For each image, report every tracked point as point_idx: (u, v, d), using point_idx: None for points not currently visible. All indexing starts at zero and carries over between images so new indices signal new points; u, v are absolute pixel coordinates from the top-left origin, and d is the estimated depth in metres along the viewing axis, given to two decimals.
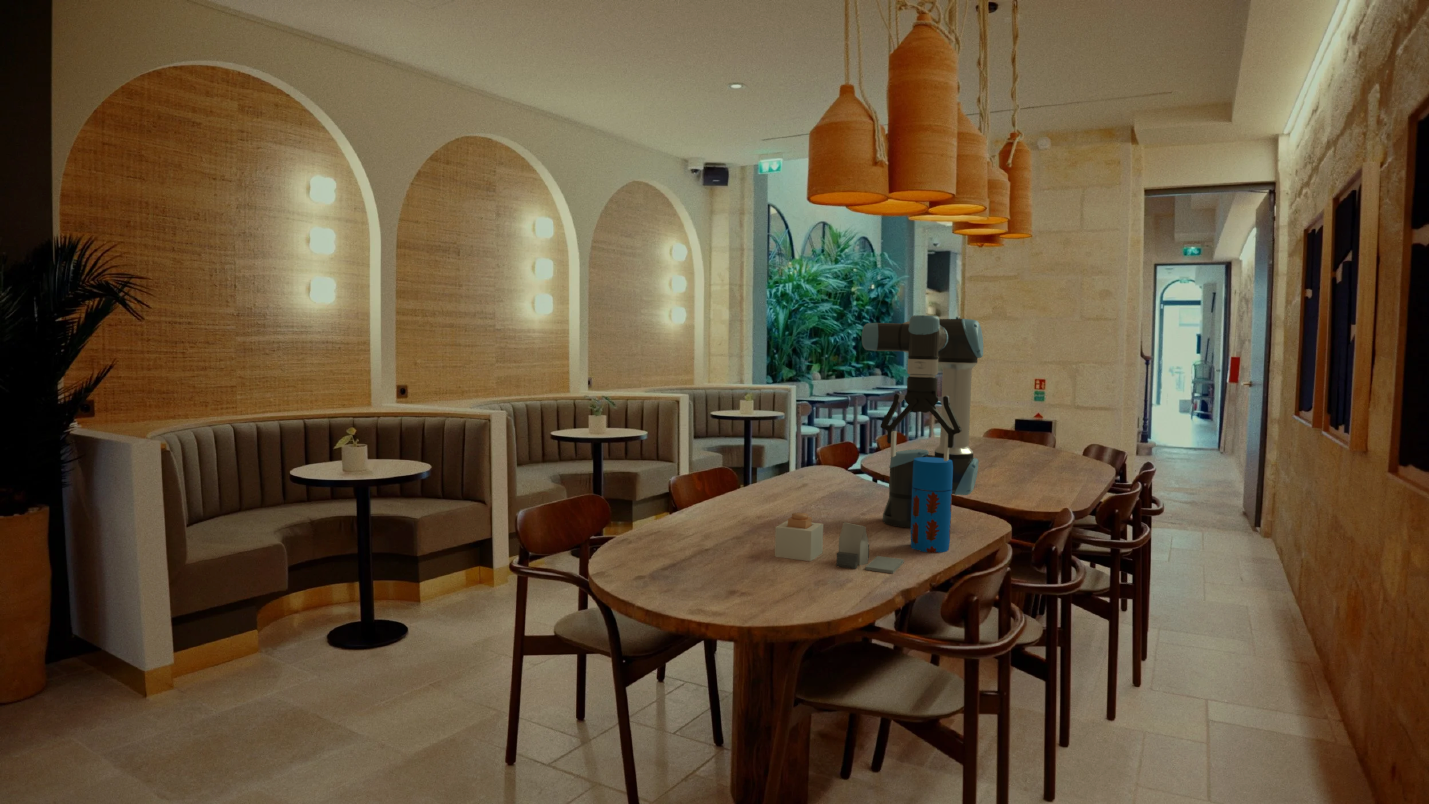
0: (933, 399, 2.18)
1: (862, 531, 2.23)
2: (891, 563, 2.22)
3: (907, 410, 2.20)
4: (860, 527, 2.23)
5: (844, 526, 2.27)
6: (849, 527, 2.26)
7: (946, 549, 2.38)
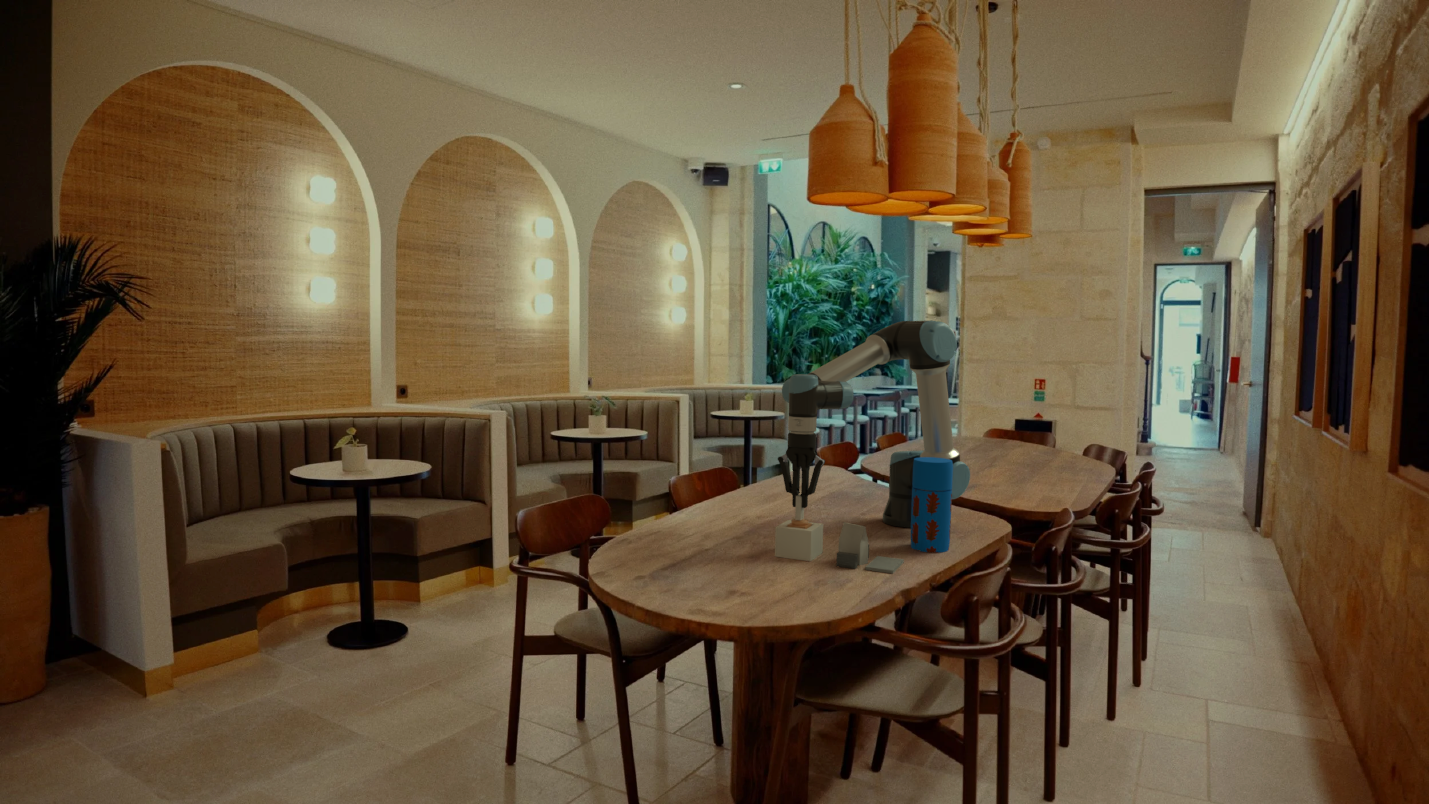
0: (811, 455, 2.28)
1: (862, 531, 2.23)
2: (891, 563, 2.22)
3: (794, 467, 2.29)
4: (860, 527, 2.23)
5: (844, 526, 2.27)
6: (849, 527, 2.26)
7: (946, 549, 2.38)
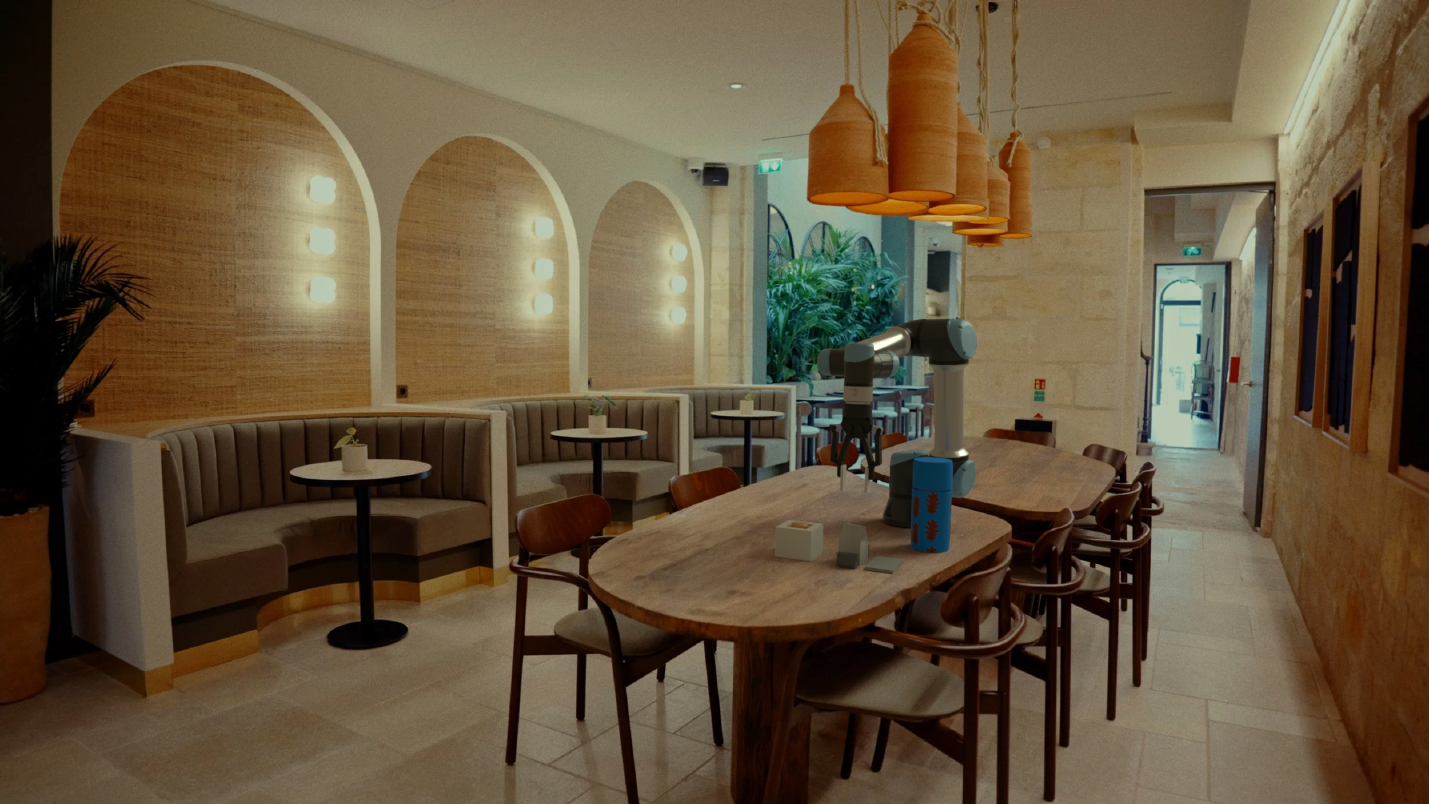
0: (867, 426, 2.21)
1: (862, 531, 2.23)
2: (891, 563, 2.22)
3: (847, 438, 2.23)
4: (860, 527, 2.23)
5: (844, 526, 2.27)
6: (849, 527, 2.26)
7: (946, 549, 2.38)
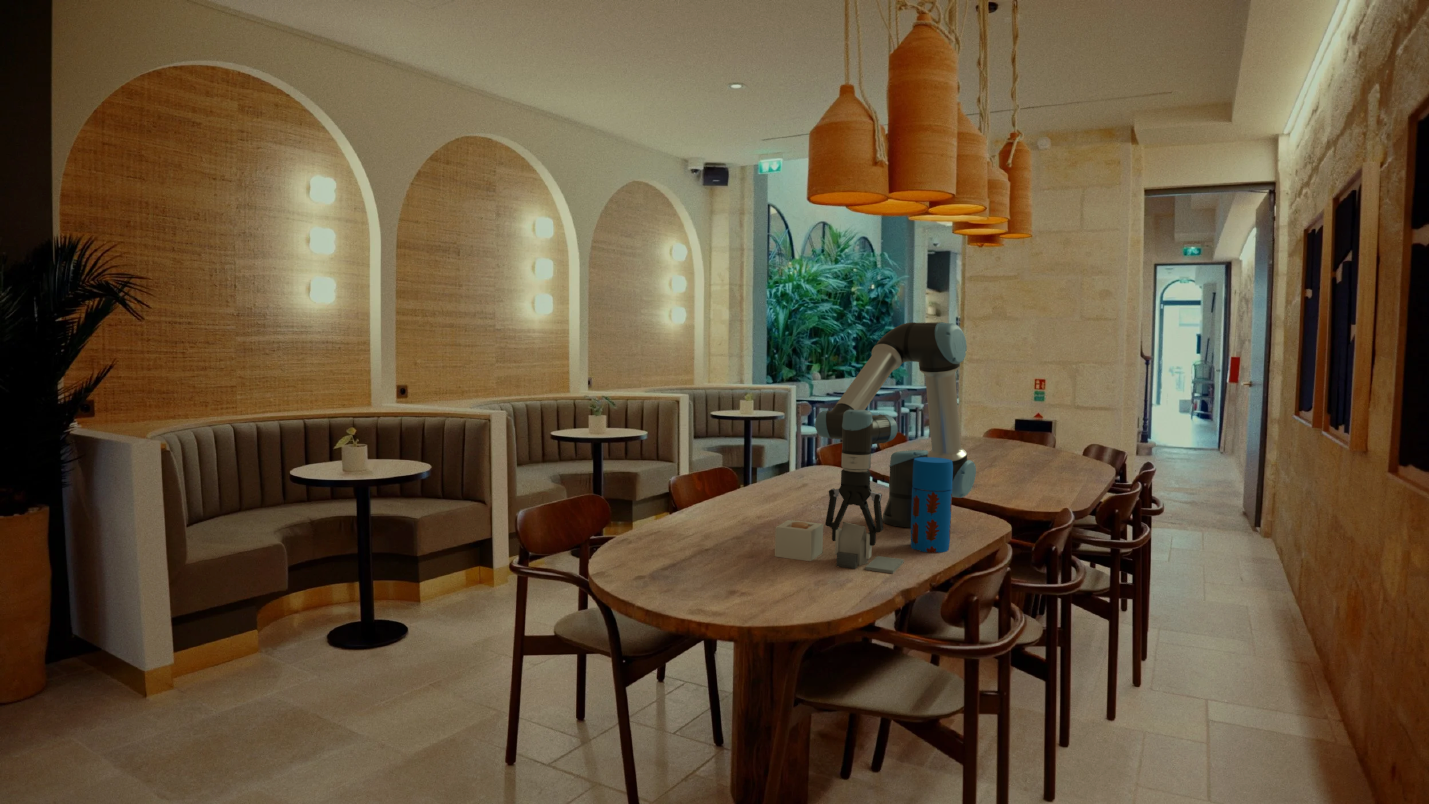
0: (865, 493, 2.22)
1: (862, 531, 2.23)
2: (891, 563, 2.22)
3: (844, 504, 2.24)
4: (860, 527, 2.23)
5: (844, 526, 2.27)
6: (849, 527, 2.26)
7: (946, 549, 2.38)
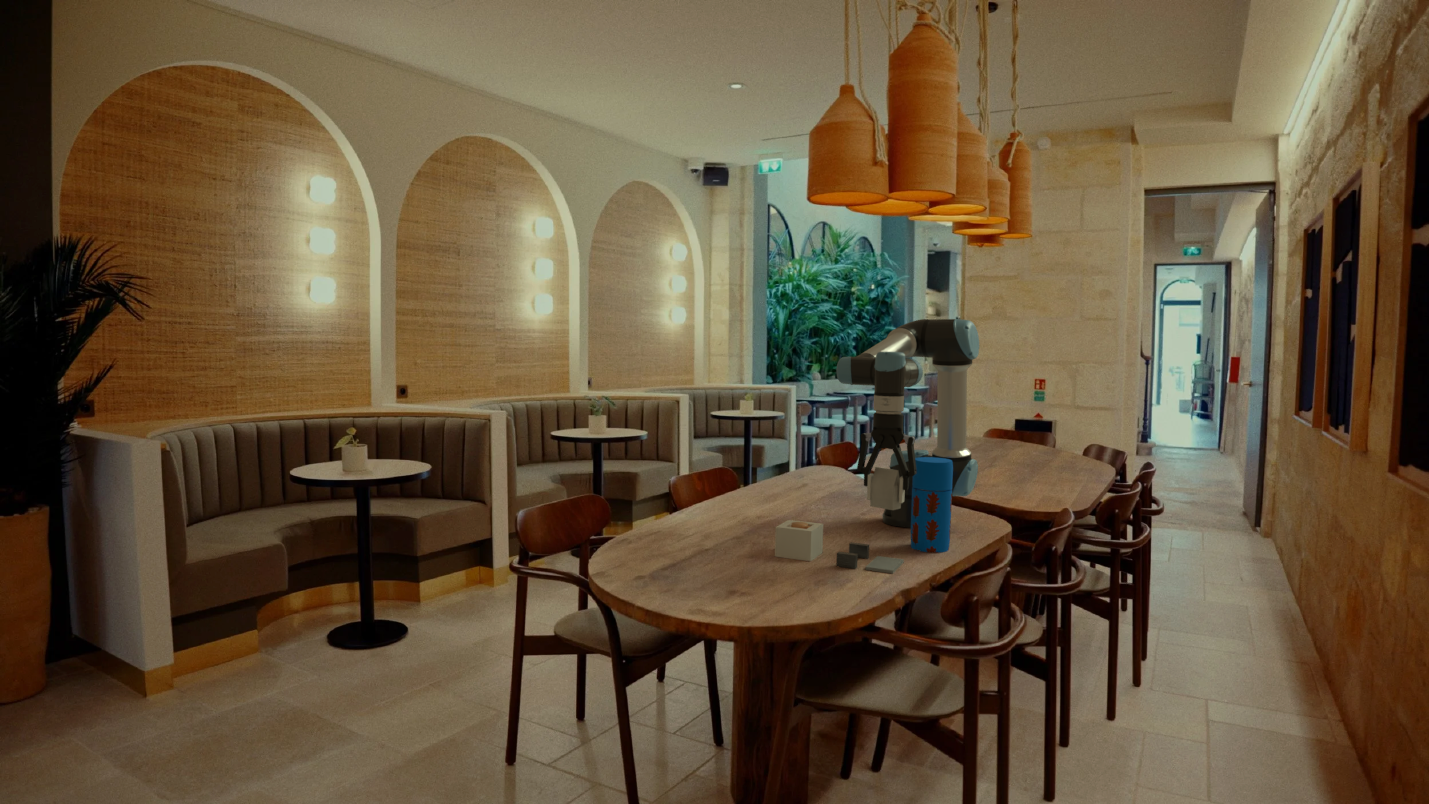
0: (898, 436, 2.17)
1: (895, 475, 2.18)
2: (891, 563, 2.22)
3: (876, 448, 2.19)
4: (893, 471, 2.19)
5: (876, 471, 2.22)
6: (881, 471, 2.21)
7: (946, 549, 2.38)
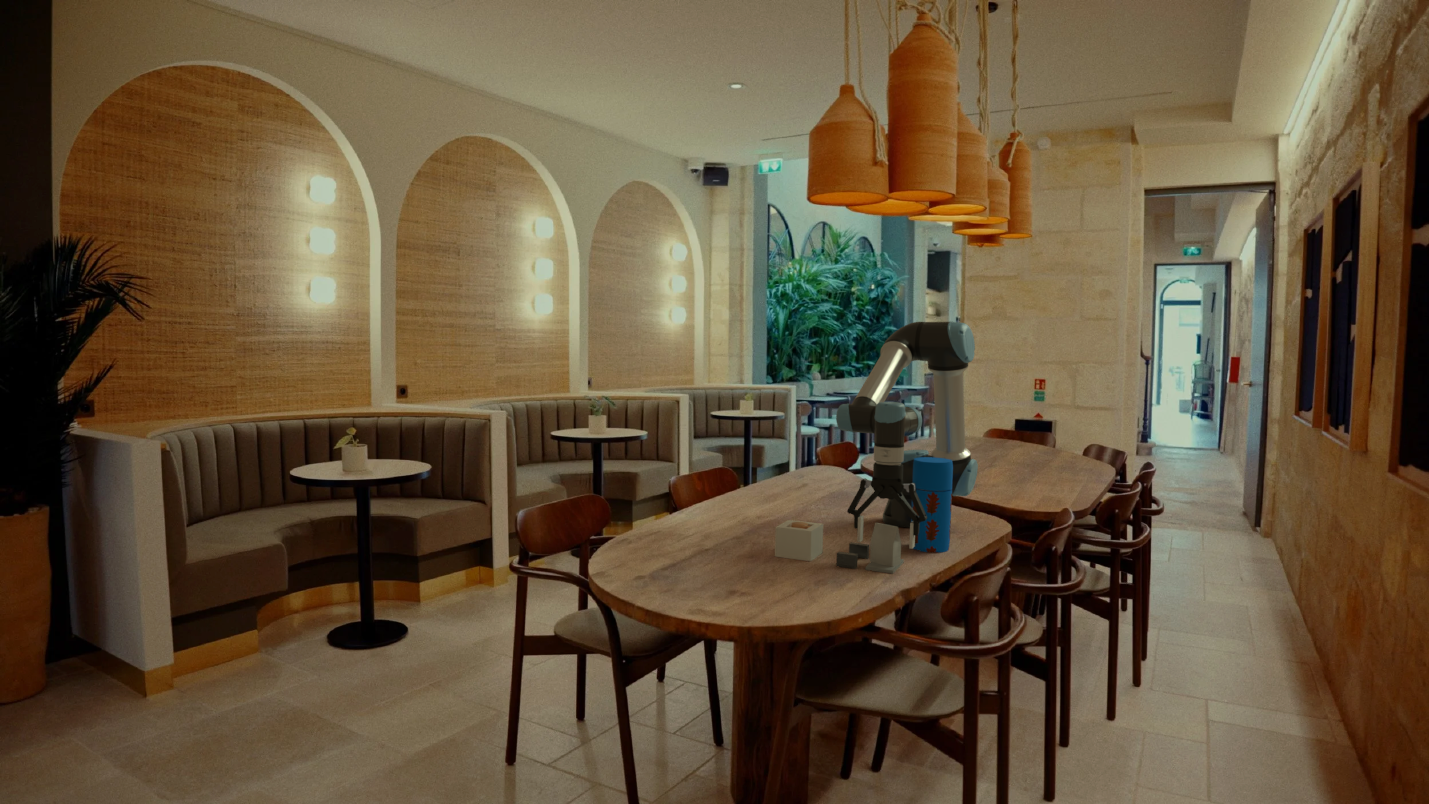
0: (898, 487, 2.18)
1: (895, 531, 2.19)
2: None
3: (873, 496, 2.21)
4: (893, 527, 2.20)
5: (876, 526, 2.23)
6: (881, 527, 2.22)
7: (946, 549, 2.38)
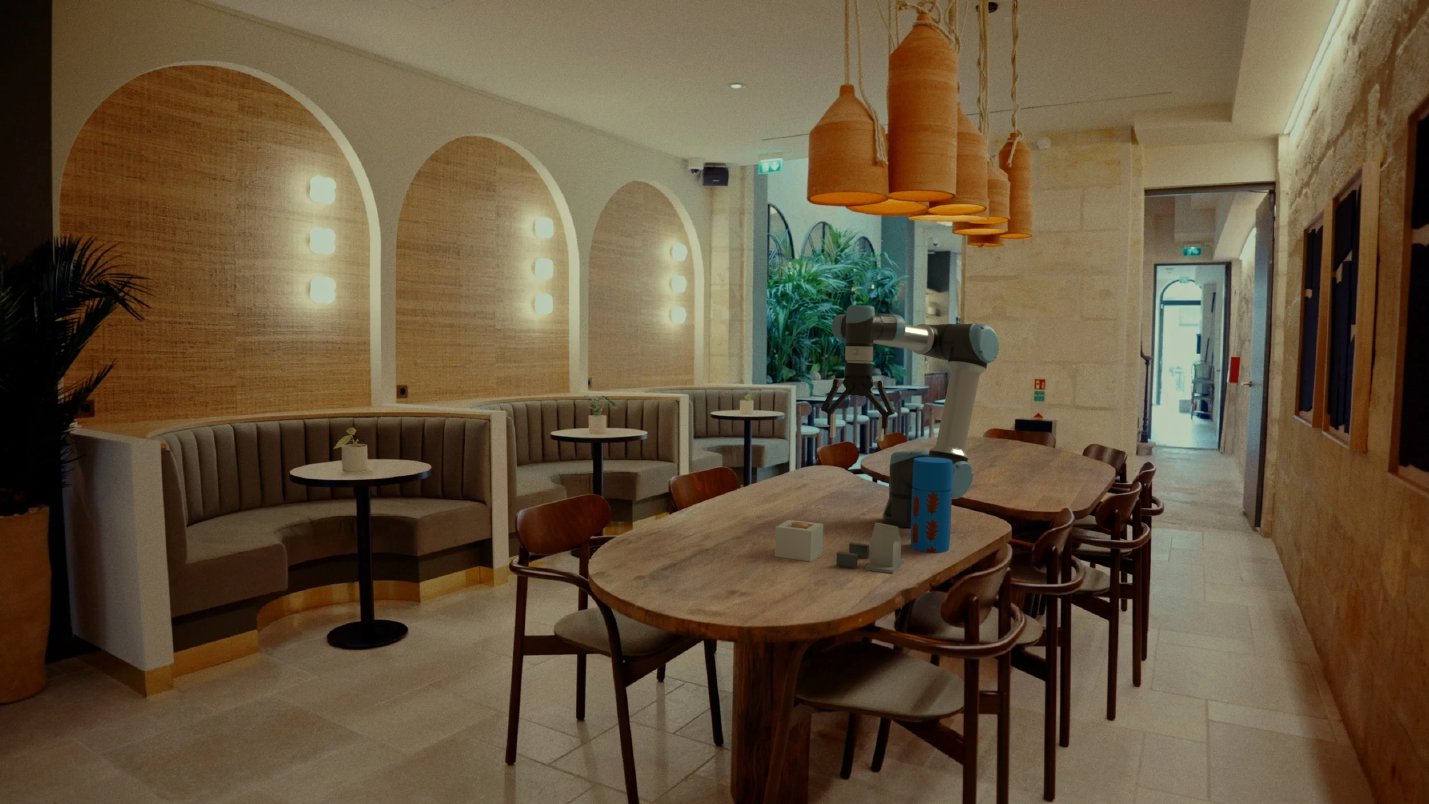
0: (868, 384, 2.34)
1: (895, 531, 2.19)
2: None
3: (845, 393, 2.36)
4: (893, 527, 2.20)
5: (876, 526, 2.23)
6: (881, 527, 2.22)
7: (946, 549, 2.38)
